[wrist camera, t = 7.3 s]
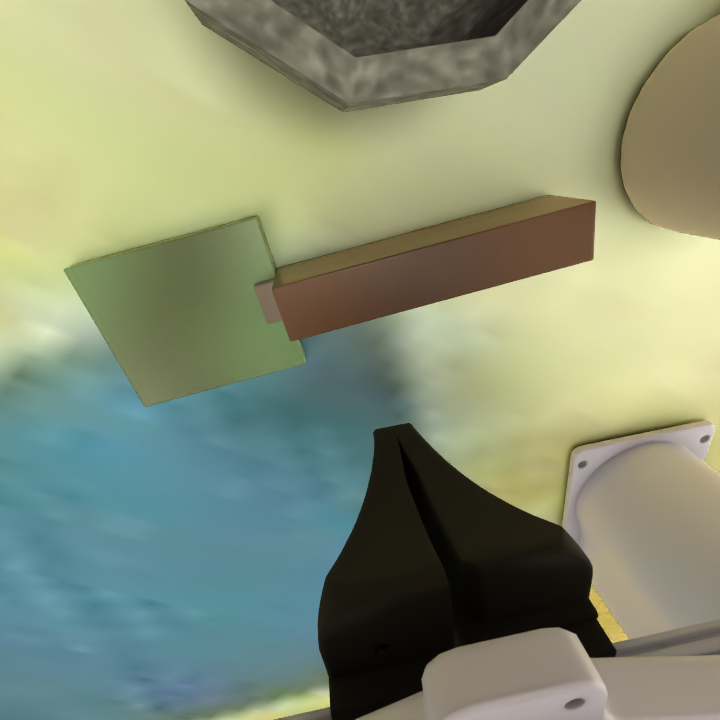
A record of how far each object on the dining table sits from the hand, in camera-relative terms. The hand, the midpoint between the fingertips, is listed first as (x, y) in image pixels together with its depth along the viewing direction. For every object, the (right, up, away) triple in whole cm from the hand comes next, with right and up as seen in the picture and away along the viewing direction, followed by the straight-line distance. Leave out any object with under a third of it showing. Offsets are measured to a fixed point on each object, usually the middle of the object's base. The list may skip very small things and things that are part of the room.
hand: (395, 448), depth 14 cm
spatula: (-2, +6, +1) cm, 7 cm away
